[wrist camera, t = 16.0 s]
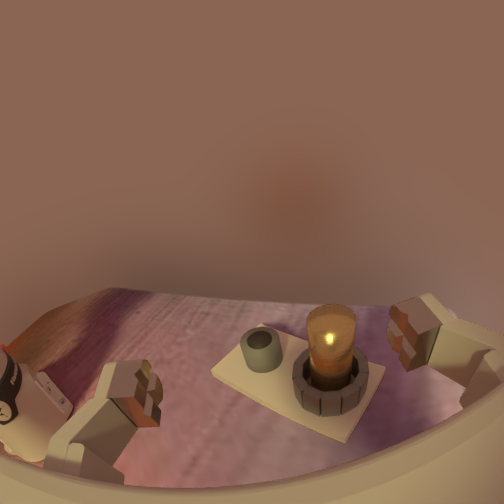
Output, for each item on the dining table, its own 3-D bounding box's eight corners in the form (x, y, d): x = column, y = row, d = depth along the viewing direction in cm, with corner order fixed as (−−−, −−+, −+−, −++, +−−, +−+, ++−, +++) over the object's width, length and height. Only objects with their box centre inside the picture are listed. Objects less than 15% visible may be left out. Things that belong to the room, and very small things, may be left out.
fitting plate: (213, 376, 40) (202, 351, 38) (262, 329, 48) (255, 304, 45) (344, 443, 26) (348, 423, 24) (384, 373, 34) (390, 346, 31)
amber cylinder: (304, 394, 33) (297, 327, 27) (323, 367, 36) (320, 299, 31) (338, 408, 30) (343, 342, 24) (355, 379, 33) (362, 310, 28)
